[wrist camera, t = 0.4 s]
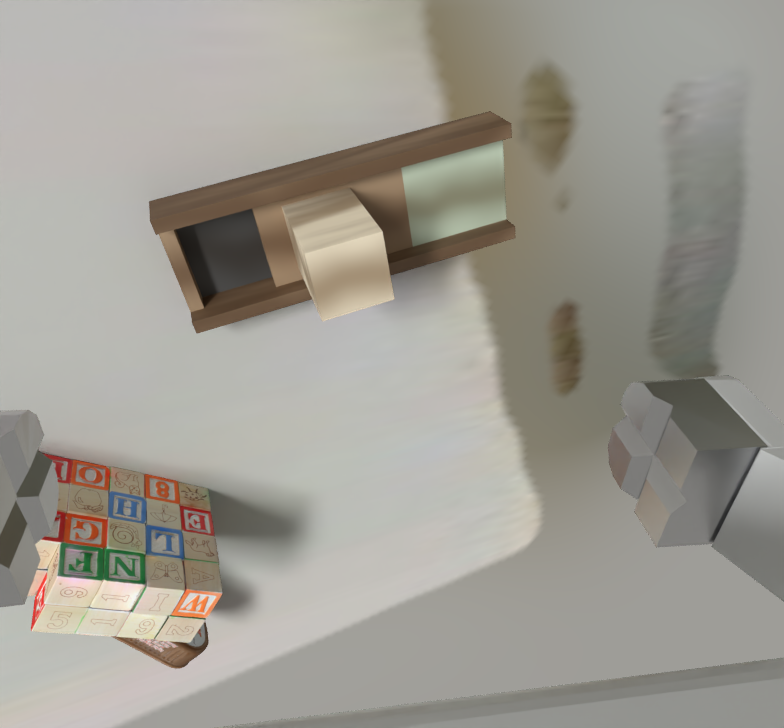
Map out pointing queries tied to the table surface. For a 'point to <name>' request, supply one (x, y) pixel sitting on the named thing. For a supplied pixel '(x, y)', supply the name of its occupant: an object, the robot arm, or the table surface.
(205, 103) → the table surface
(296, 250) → the birch block
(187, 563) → the stack of blocks
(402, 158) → the walled track
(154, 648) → the tin
